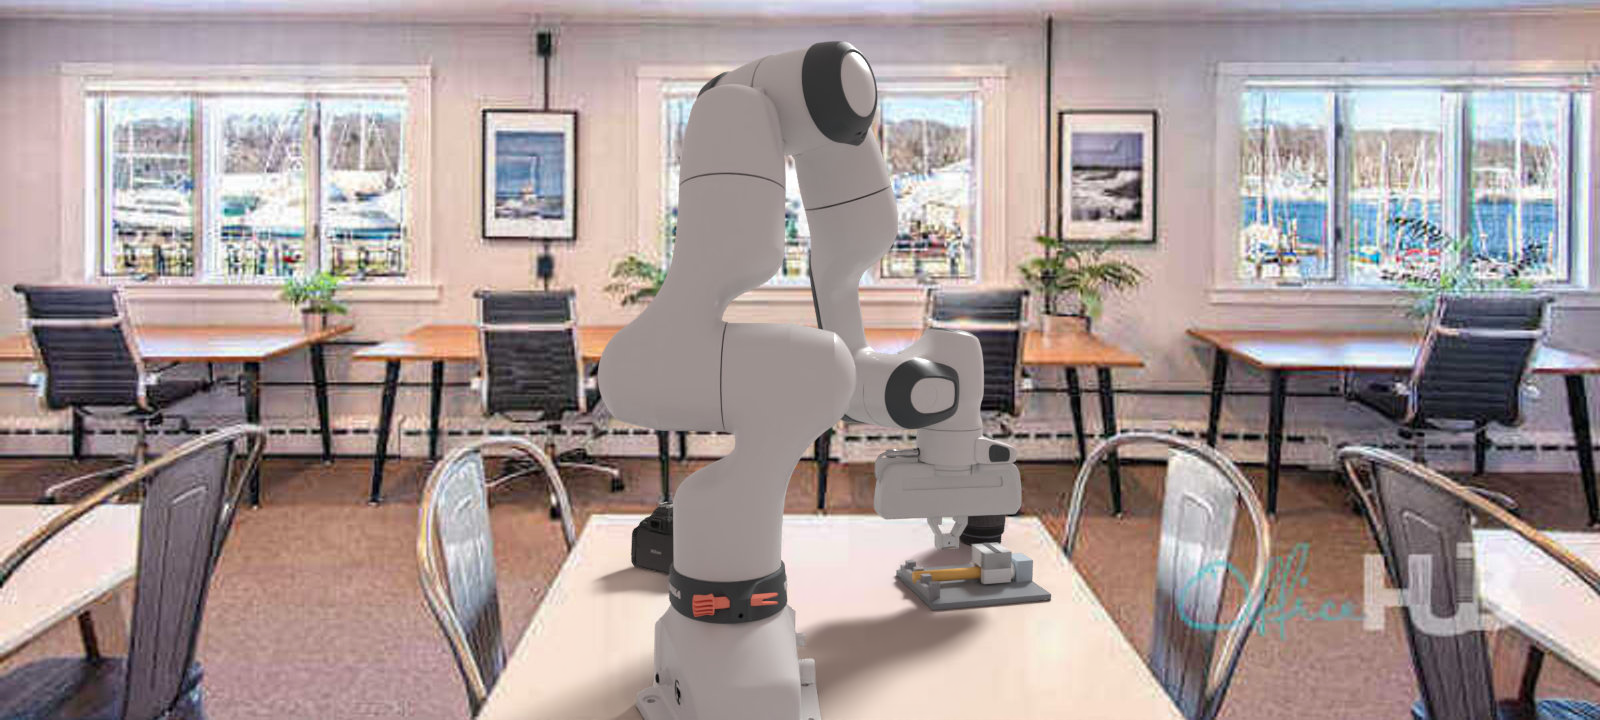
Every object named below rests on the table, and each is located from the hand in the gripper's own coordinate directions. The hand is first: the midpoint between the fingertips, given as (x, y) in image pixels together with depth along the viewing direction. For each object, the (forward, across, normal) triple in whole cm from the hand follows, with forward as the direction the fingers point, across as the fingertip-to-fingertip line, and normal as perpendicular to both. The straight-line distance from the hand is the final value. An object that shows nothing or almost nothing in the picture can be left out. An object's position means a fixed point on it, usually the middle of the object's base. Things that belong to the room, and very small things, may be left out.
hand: (946, 547), depth 128 cm
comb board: (+6, +4, +2) cm, 8 cm away
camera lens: (+6, +14, +22) cm, 27 cm away
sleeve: (+5, +7, +2) cm, 9 cm away
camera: (+6, -35, +17) cm, 40 cm away
